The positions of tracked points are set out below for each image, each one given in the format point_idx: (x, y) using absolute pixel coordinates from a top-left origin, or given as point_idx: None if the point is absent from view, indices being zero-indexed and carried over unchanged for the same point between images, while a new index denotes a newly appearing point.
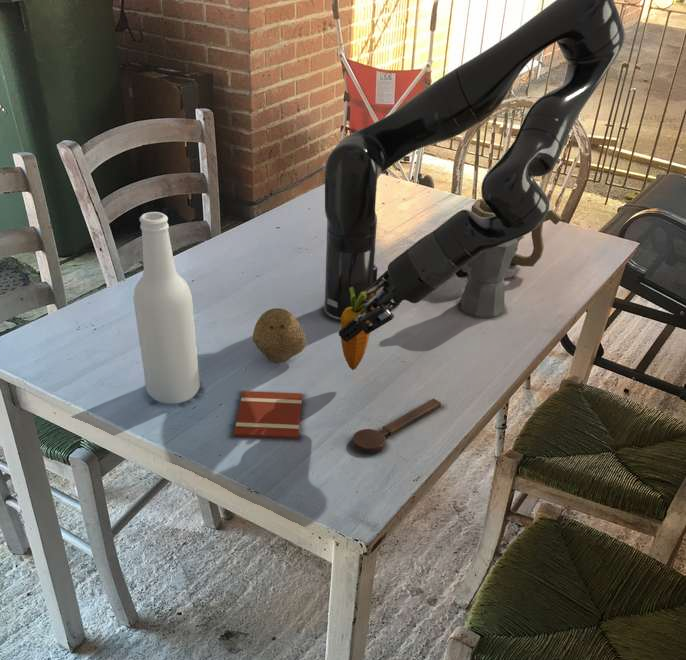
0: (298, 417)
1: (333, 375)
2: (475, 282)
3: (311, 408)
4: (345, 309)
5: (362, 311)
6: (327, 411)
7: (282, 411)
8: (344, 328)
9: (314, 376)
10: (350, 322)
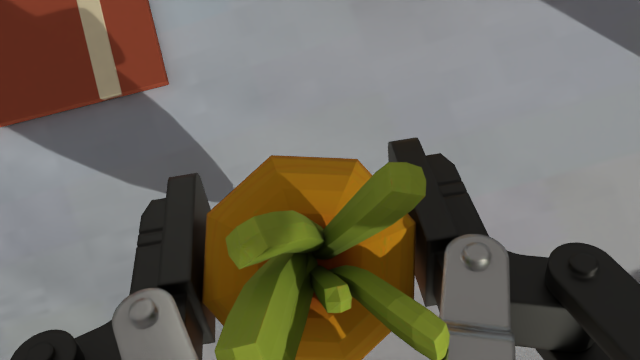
0: (9, 116)
1: (346, 155)
2: None
3: (102, 141)
4: (328, 167)
5: (188, 352)
6: (101, 203)
7: (28, 49)
8: (165, 213)
9: (315, 88)
10: (176, 251)
